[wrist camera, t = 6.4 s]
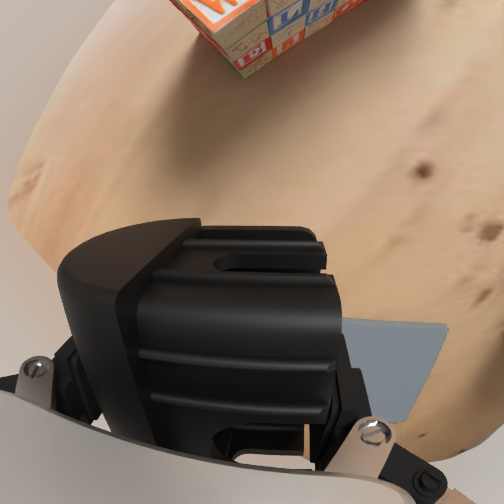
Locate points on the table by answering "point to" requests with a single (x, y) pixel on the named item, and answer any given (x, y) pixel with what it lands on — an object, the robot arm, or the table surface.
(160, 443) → the end cap
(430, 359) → the slate mat
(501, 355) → the table surface
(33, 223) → the table surface
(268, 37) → the stack of blocks
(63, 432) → the robot arm
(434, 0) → the table surface
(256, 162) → the table surface
